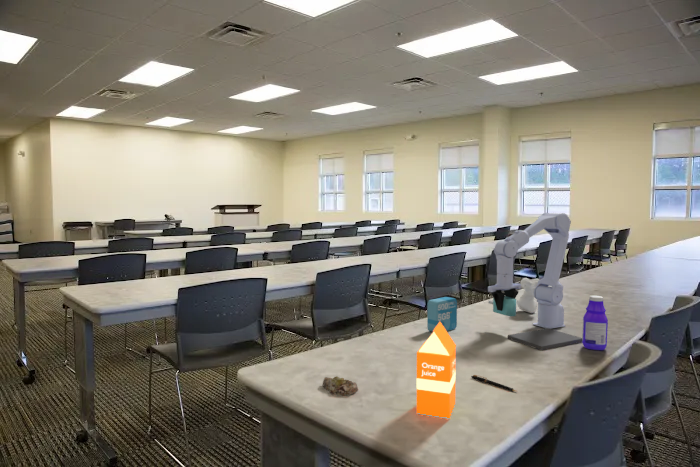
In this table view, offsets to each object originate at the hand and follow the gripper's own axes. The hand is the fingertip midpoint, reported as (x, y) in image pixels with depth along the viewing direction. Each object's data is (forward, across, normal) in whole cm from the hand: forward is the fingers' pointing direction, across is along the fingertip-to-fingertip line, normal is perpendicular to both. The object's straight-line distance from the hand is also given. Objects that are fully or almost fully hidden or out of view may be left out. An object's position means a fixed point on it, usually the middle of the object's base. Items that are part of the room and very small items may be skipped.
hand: (504, 309), depth 175 cm
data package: (+9, +19, -12) cm, 24 cm away
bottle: (+9, -12, +29) cm, 32 cm away
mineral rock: (+9, +77, +22) cm, 81 cm away
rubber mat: (+8, -5, +15) cm, 18 cm away
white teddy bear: (+9, -32, -18) cm, 37 cm away
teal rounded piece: (+1, 0, -1) cm, 2 cm away
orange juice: (+9, +62, +43) cm, 76 cm away
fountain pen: (+9, +40, +38) cm, 55 cm away
